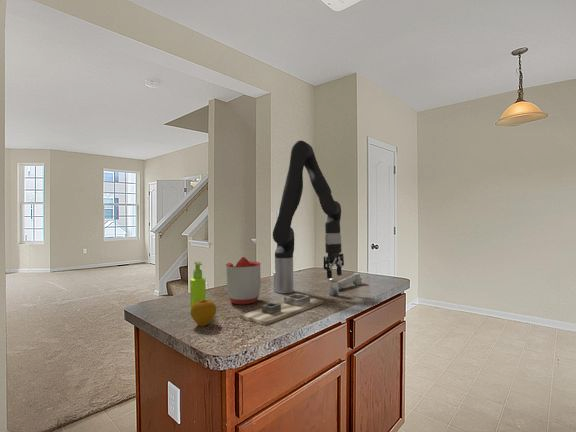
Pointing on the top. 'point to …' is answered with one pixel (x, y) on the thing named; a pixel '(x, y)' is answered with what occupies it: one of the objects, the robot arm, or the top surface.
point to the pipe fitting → (333, 287)
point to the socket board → (281, 309)
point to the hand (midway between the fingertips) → (334, 276)
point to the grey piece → (350, 280)
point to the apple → (203, 312)
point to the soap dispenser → (197, 285)
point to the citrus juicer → (243, 281)
